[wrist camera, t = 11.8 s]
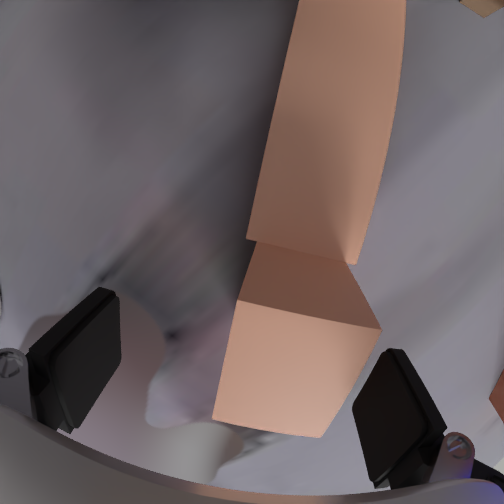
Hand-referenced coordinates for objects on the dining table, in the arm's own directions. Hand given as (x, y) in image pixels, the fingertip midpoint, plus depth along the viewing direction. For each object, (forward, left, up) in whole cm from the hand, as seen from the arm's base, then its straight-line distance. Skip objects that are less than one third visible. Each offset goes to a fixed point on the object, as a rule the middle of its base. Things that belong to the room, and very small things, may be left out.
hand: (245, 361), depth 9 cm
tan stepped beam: (+9, -1, -6) cm, 10 cm away
